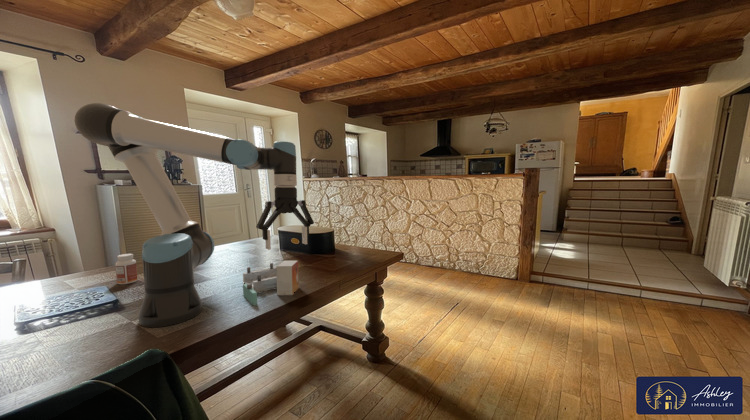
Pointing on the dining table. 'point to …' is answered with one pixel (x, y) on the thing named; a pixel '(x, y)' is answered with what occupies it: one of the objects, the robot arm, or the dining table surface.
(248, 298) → the gate
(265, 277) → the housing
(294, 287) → the small box
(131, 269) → the pill bottle
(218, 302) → the dining table surface
